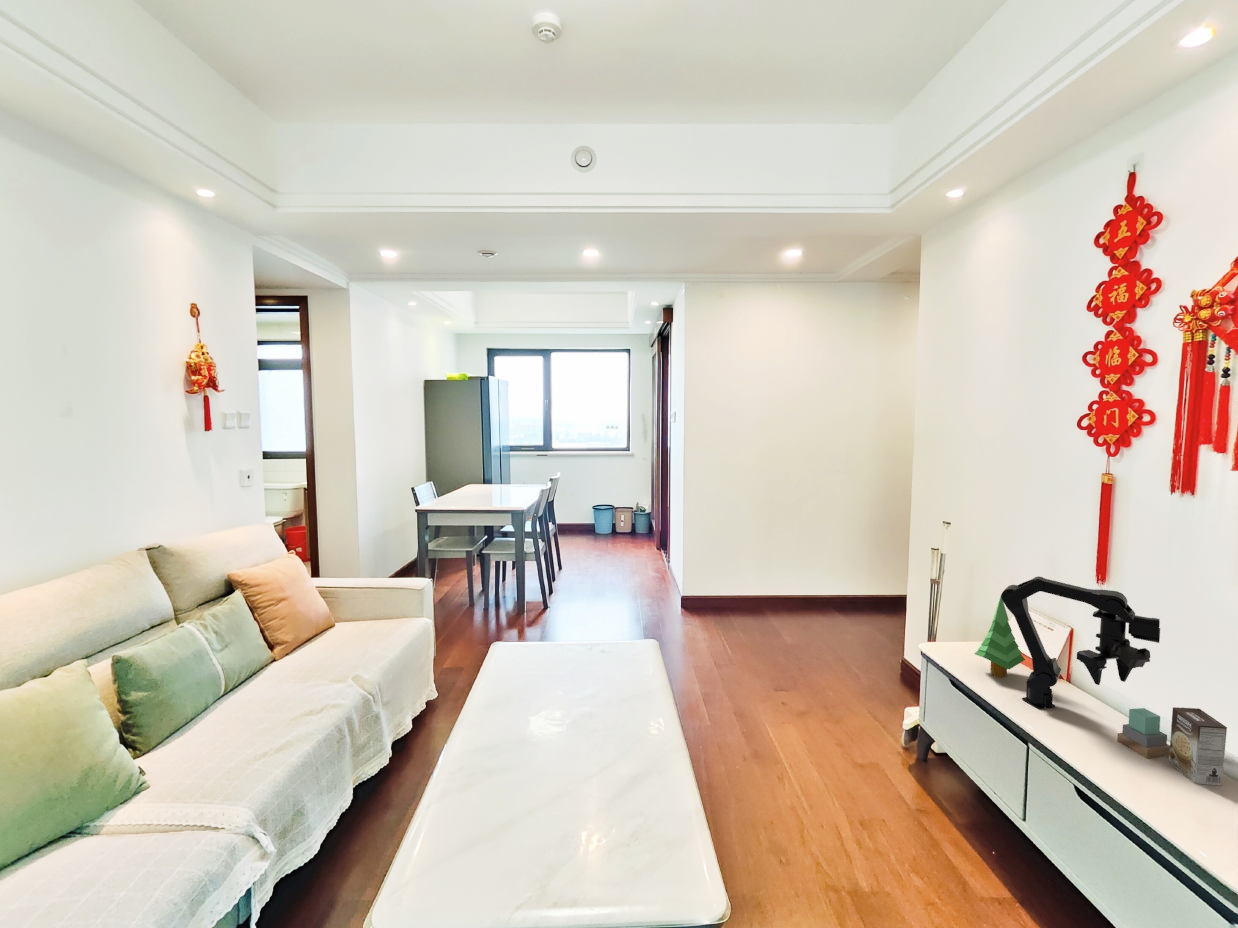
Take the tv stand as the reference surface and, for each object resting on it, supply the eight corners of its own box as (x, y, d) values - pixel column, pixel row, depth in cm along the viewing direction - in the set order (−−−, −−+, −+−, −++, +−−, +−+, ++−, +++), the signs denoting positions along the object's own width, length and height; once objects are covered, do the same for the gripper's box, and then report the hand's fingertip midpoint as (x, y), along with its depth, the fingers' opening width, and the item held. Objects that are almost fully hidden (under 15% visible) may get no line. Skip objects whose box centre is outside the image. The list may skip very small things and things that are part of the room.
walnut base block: (1116, 742, 160) (1117, 733, 160) (1140, 739, 161) (1140, 730, 161) (1146, 759, 152) (1147, 749, 152) (1171, 756, 154) (1171, 746, 153)
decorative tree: (965, 669, 206) (967, 592, 204) (996, 662, 211) (999, 586, 208) (1000, 686, 193) (1002, 603, 191) (1032, 678, 198) (1035, 597, 195)
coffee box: (1167, 761, 151) (1170, 705, 149) (1194, 763, 150) (1198, 707, 148) (1194, 783, 142) (1198, 724, 140) (1224, 786, 141) (1228, 726, 139)
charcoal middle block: (1122, 734, 159) (1122, 724, 159) (1141, 731, 160) (1142, 722, 160) (1146, 747, 153) (1147, 737, 153) (1166, 745, 154) (1167, 734, 154)
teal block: (1128, 725, 159) (1129, 708, 158) (1142, 724, 159) (1143, 707, 158) (1144, 734, 154) (1145, 717, 154) (1159, 733, 154) (1160, 716, 154)
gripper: (1114, 647, 158) (1111, 699, 159) (1168, 641, 160) (1165, 692, 162) (1076, 632, 169) (1074, 681, 170) (1127, 626, 171) (1125, 674, 173)
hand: (1110, 682), depth 168 cm, fingers open, 9 cm apart
